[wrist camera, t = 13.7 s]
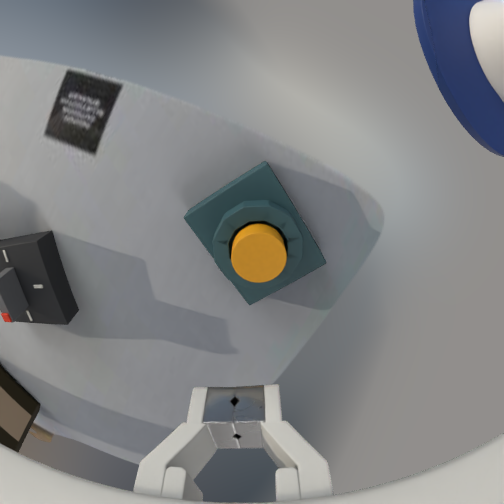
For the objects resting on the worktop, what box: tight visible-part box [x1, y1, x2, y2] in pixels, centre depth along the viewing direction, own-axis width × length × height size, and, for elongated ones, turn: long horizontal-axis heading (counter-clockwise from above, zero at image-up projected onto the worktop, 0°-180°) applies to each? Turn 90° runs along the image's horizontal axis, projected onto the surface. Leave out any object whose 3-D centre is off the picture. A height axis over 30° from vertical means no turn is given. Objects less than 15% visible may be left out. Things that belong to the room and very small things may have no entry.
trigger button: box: [231, 224, 287, 283], centre depth 22 cm, size 4×4×2 cm
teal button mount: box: [184, 161, 326, 305], centre depth 25 cm, size 10×8×4 cm
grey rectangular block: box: [0, 267, 29, 322], centre depth 24 cm, size 5×2×4 cm, turn 5°
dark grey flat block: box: [0, 231, 79, 325], centre depth 27 cm, size 12×10×3 cm
